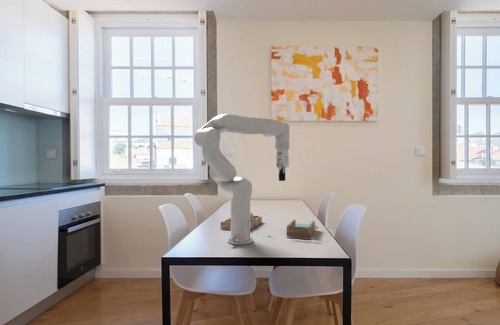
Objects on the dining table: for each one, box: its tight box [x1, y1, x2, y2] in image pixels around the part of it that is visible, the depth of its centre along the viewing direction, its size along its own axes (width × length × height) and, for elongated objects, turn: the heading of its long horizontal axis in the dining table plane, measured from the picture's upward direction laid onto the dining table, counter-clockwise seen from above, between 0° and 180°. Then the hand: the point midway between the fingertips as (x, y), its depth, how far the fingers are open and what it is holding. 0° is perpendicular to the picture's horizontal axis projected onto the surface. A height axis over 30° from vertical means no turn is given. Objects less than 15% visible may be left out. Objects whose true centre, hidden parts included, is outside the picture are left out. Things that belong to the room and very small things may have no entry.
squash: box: [250, 211, 255, 222], centre depth 187 cm, size 11×20×9 cm, turn 21°
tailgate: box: [296, 223, 318, 230], centre depth 174 cm, size 1×12×8 cm
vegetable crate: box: [220, 215, 263, 231], centre depth 185 cm, size 26×17×4 cm, turn 161°
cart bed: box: [286, 219, 316, 241], centre depth 162 cm, size 18×12×6 cm
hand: (282, 180), depth 162 cm, fingers closed
